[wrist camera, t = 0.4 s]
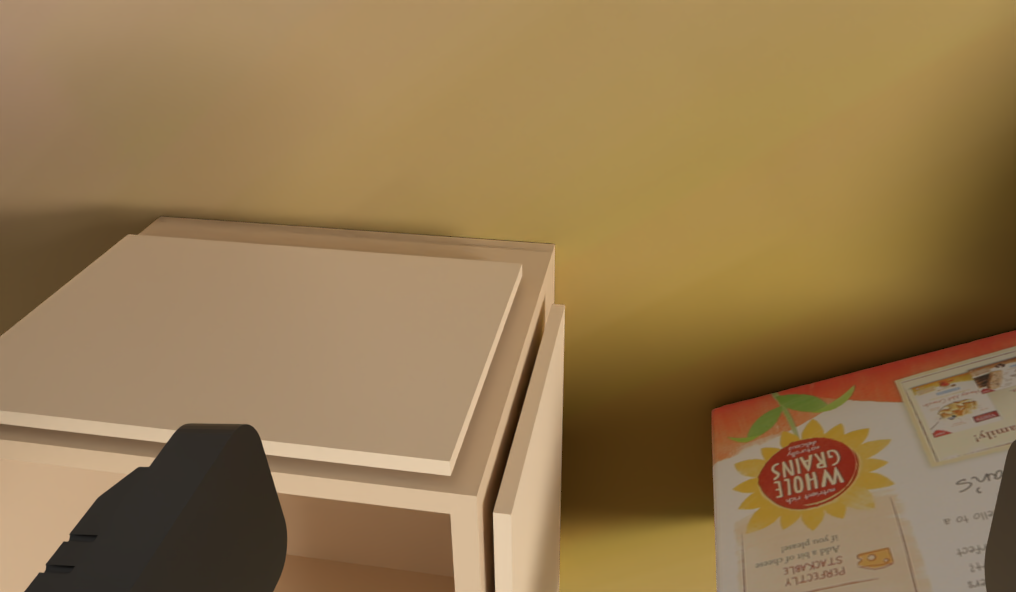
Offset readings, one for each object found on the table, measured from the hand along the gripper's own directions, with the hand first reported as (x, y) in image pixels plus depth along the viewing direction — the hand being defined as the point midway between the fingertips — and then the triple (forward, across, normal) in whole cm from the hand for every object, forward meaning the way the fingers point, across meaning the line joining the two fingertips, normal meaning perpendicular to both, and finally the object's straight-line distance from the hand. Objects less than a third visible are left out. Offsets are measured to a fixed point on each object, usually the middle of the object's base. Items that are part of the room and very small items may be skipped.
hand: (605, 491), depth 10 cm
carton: (+19, +11, +14) cm, 25 cm away
